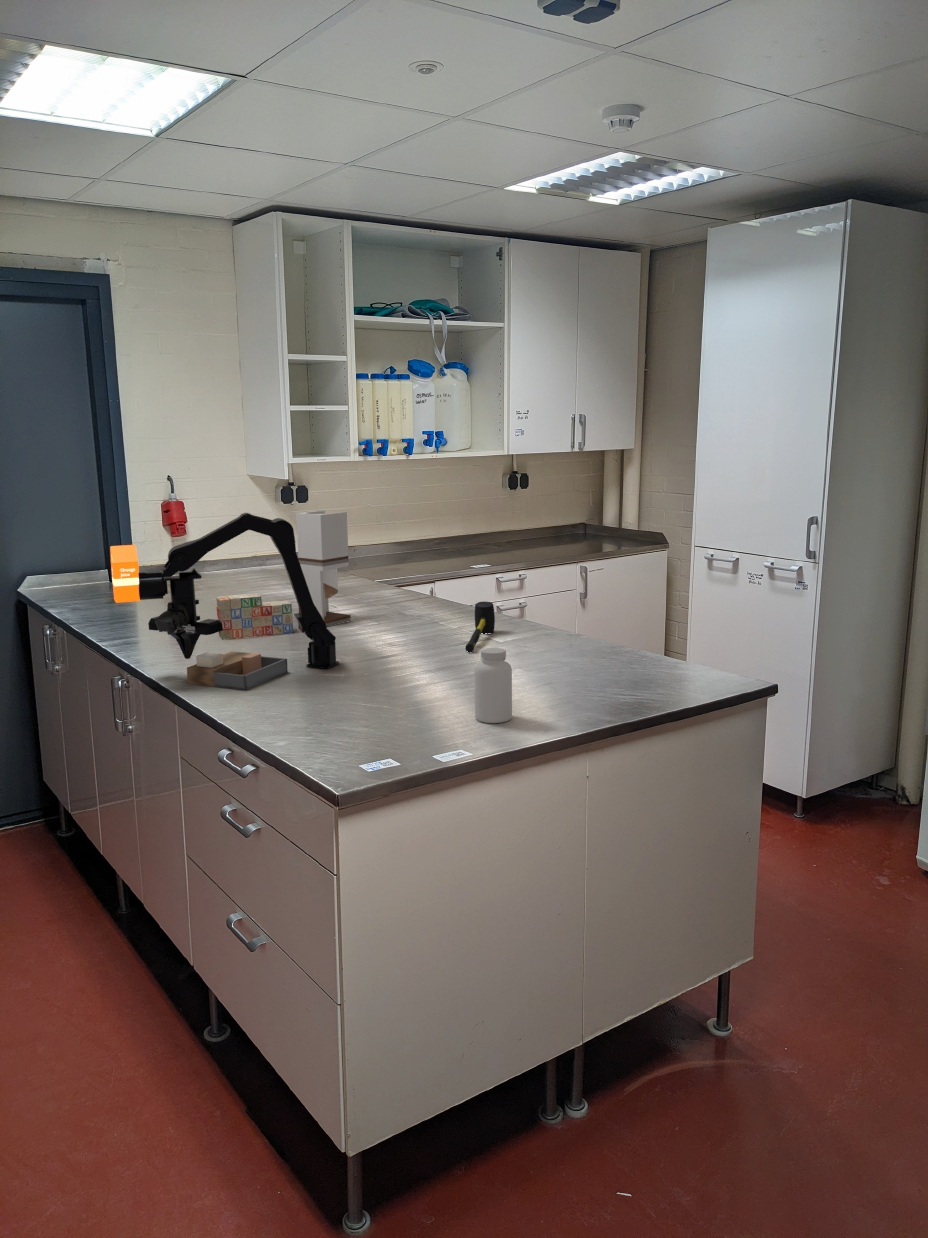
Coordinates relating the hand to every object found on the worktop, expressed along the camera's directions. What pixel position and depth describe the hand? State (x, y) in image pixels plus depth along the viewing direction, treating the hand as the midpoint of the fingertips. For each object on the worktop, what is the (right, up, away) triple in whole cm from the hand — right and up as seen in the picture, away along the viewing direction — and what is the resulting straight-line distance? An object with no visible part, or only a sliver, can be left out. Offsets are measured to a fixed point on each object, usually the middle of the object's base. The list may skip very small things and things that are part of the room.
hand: (187, 658), depth 236 cm
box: (+16, -5, -1) cm, 17 cm away
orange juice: (-53, +17, +108) cm, 121 cm away
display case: (+25, +9, +65) cm, 71 cm away
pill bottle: (+75, -12, -34) cm, 84 cm away
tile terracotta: (+14, -1, +3) cm, 15 cm away
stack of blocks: (+6, +5, +49) cm, 50 cm away
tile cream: (+6, -1, -3) cm, 7 cm away
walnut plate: (+8, -4, +2) cm, 10 cm away
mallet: (+73, +3, +37) cm, 82 cm away
